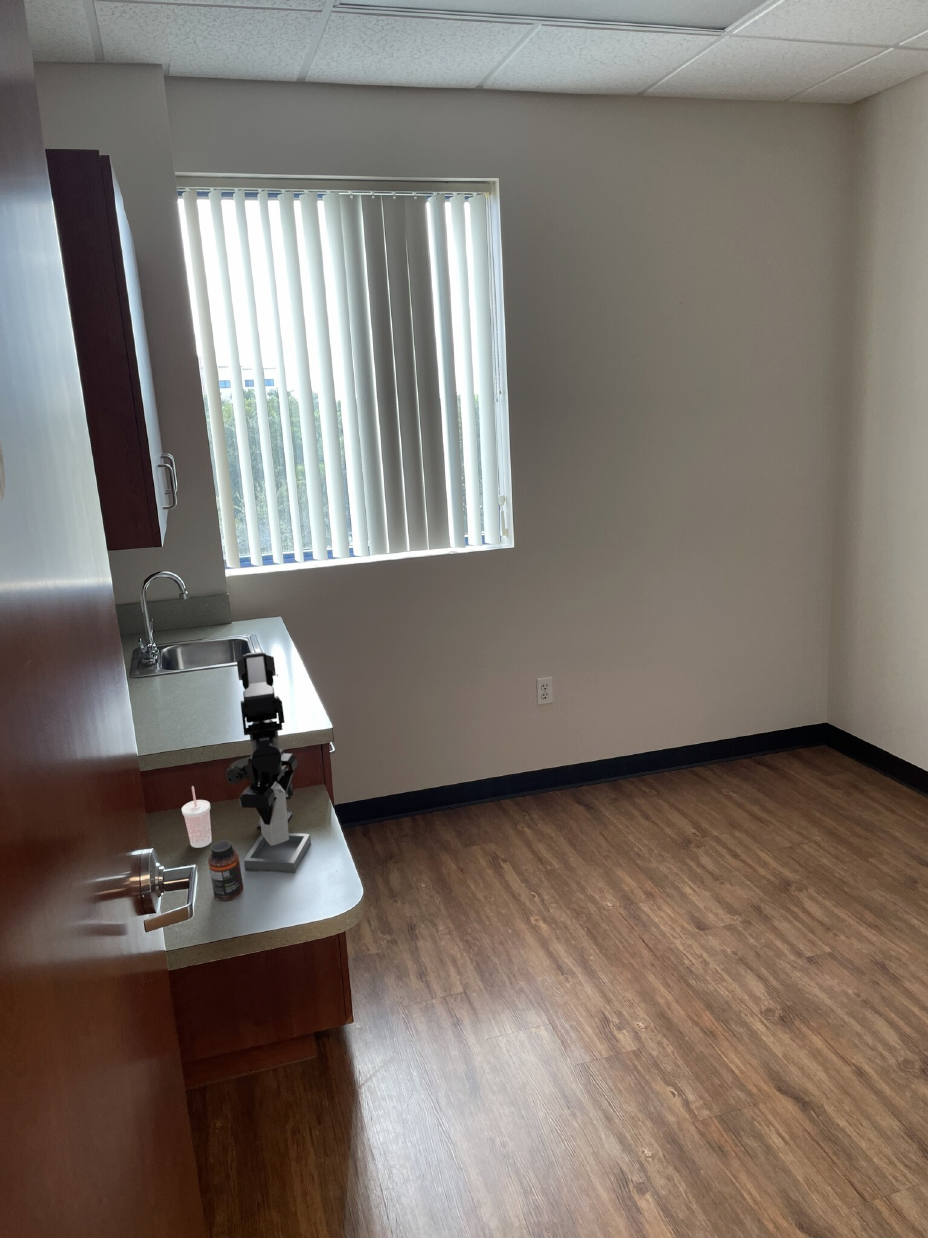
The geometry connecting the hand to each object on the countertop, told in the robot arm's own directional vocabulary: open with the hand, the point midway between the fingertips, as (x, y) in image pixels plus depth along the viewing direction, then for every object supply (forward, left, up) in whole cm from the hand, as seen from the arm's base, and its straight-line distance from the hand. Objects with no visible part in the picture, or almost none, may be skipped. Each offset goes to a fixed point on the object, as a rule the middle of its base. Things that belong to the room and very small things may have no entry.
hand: (273, 815), depth 182 cm
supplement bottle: (+13, -6, -11) cm, 18 cm away
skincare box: (0, 0, -6) cm, 6 cm away
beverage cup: (-4, -20, -11) cm, 23 cm away
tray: (0, 0, -10) cm, 10 cm away
